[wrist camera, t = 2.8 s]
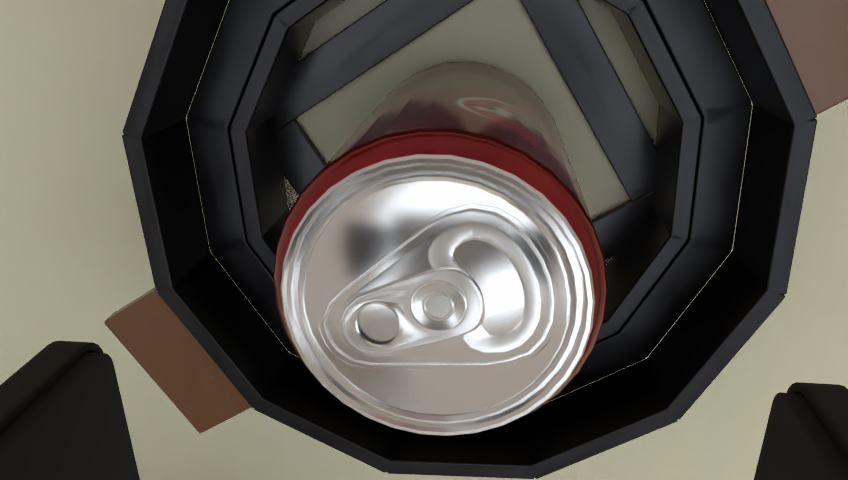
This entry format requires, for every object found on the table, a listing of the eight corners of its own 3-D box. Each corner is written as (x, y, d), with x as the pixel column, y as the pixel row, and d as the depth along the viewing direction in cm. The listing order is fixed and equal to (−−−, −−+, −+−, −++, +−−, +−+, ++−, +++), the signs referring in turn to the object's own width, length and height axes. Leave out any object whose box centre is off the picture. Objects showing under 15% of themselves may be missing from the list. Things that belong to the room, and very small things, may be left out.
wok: (346, 460, 31) (311, 571, 25) (67, 110, 26) (-55, 149, 20) (887, 210, 24) (1009, 285, 18) (652, -337, 19) (719, -472, 13)
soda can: (534, 33, 23) (568, 89, 12) (579, 222, 25) (643, 417, 14) (340, 92, 24) (209, 192, 13) (400, 266, 27) (332, 473, 16)
